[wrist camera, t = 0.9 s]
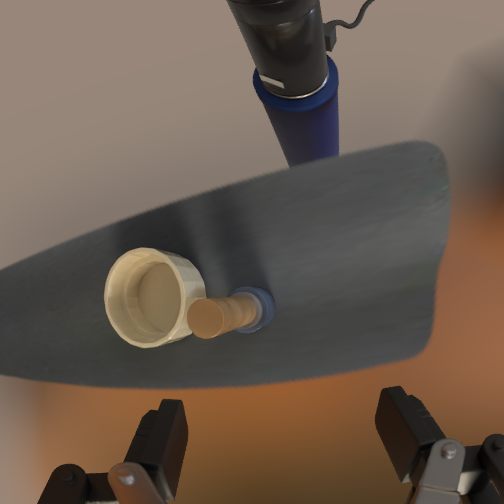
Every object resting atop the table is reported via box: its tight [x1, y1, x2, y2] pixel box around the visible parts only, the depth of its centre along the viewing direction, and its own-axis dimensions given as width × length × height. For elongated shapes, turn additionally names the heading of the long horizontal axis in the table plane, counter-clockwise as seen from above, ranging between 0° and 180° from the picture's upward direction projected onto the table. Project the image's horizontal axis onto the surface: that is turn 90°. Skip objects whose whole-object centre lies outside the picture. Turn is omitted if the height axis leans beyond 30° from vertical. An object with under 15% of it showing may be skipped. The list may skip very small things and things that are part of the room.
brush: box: [187, 287, 275, 339], centre depth 28 cm, size 5×5×14 cm
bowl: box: [104, 247, 207, 348], centre depth 35 cm, size 11×11×6 cm
